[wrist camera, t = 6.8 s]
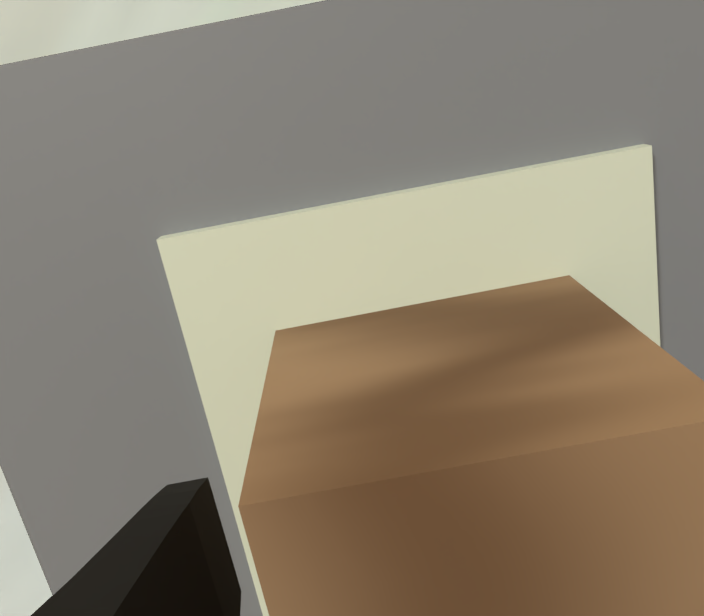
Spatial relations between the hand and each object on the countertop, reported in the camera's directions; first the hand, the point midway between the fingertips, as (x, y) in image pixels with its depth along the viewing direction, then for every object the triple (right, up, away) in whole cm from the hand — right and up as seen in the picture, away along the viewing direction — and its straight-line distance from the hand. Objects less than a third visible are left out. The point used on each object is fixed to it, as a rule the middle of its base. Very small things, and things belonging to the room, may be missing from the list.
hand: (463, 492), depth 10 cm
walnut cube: (0, 0, +2) cm, 2 cm away
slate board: (0, +2, +5) cm, 5 cm away
